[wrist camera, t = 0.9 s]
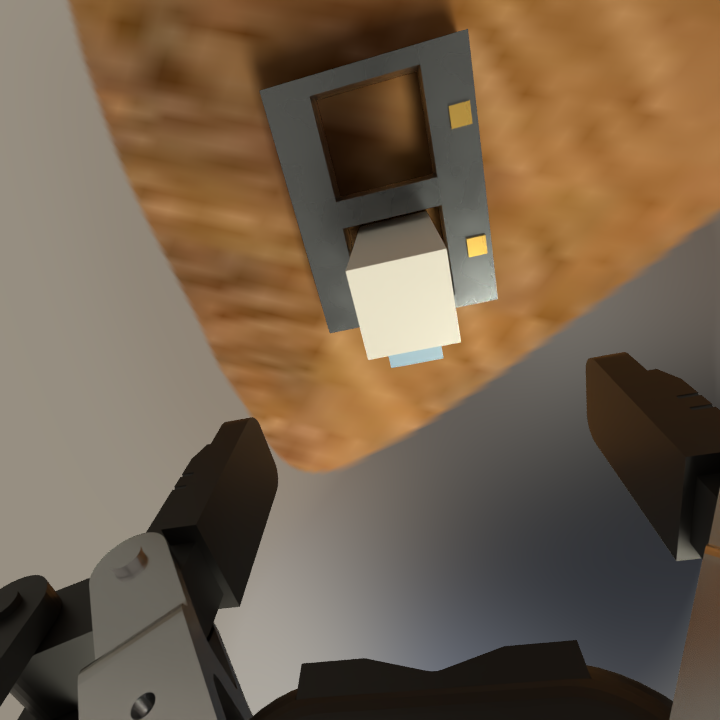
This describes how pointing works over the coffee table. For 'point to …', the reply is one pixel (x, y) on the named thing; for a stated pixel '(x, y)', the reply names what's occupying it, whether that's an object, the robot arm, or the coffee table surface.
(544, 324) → the coffee table surface
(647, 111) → the coffee table surface
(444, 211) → the panel
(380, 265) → the plug
